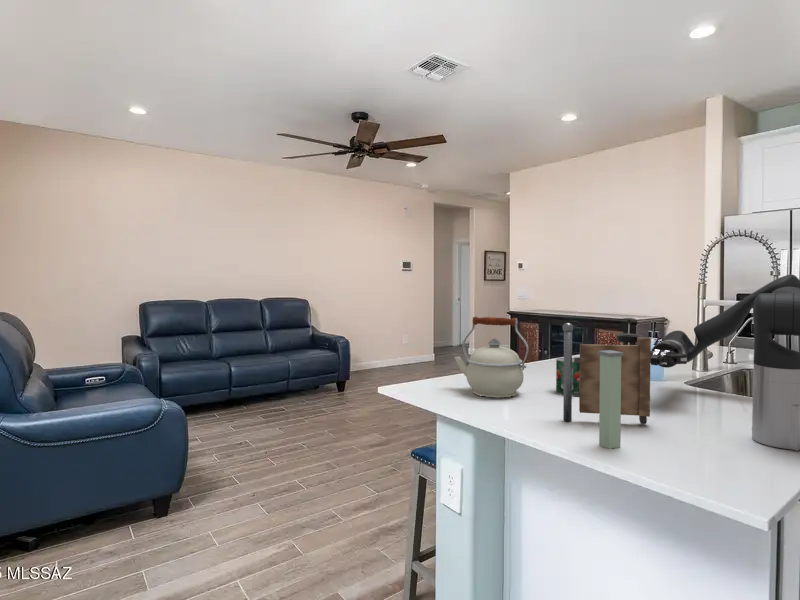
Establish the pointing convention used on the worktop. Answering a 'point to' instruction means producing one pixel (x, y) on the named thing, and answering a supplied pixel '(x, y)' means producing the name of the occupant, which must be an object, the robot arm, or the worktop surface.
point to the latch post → (610, 398)
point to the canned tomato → (561, 376)
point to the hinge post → (567, 372)
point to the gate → (632, 378)
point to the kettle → (493, 364)
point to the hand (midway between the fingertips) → (653, 361)
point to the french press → (626, 336)
